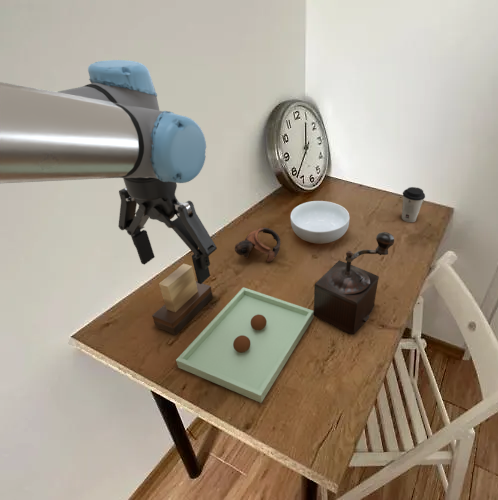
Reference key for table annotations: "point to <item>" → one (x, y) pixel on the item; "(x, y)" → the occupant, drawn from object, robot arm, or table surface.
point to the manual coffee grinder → (349, 290)
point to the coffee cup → (412, 203)
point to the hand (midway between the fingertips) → (175, 269)
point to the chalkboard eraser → (180, 299)
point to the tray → (261, 344)
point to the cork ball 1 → (241, 344)
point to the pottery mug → (258, 244)
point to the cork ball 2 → (258, 322)
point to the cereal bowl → (319, 221)
